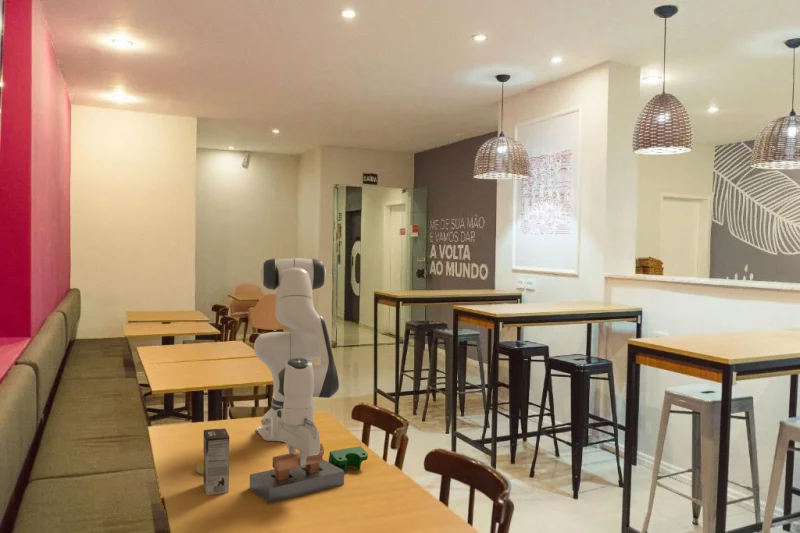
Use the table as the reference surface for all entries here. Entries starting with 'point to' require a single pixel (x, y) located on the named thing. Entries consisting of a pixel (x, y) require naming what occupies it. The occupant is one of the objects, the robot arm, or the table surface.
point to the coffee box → (216, 461)
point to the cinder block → (295, 482)
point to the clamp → (348, 457)
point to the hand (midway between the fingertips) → (297, 462)
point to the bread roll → (200, 466)
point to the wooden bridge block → (294, 464)
